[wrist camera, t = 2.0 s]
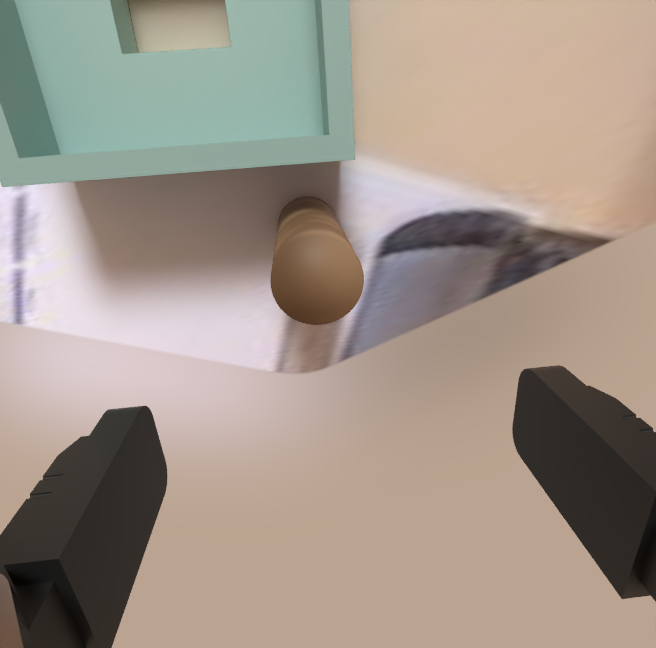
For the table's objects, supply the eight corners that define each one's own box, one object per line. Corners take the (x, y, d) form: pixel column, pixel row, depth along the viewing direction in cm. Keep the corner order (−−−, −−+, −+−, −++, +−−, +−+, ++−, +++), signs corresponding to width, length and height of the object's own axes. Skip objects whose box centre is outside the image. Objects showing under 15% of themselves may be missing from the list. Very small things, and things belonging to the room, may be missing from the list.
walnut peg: (335, 194, 29) (361, 231, 18) (338, 253, 30) (365, 320, 19) (275, 199, 29) (265, 240, 18) (281, 257, 30) (276, 328, 19)
